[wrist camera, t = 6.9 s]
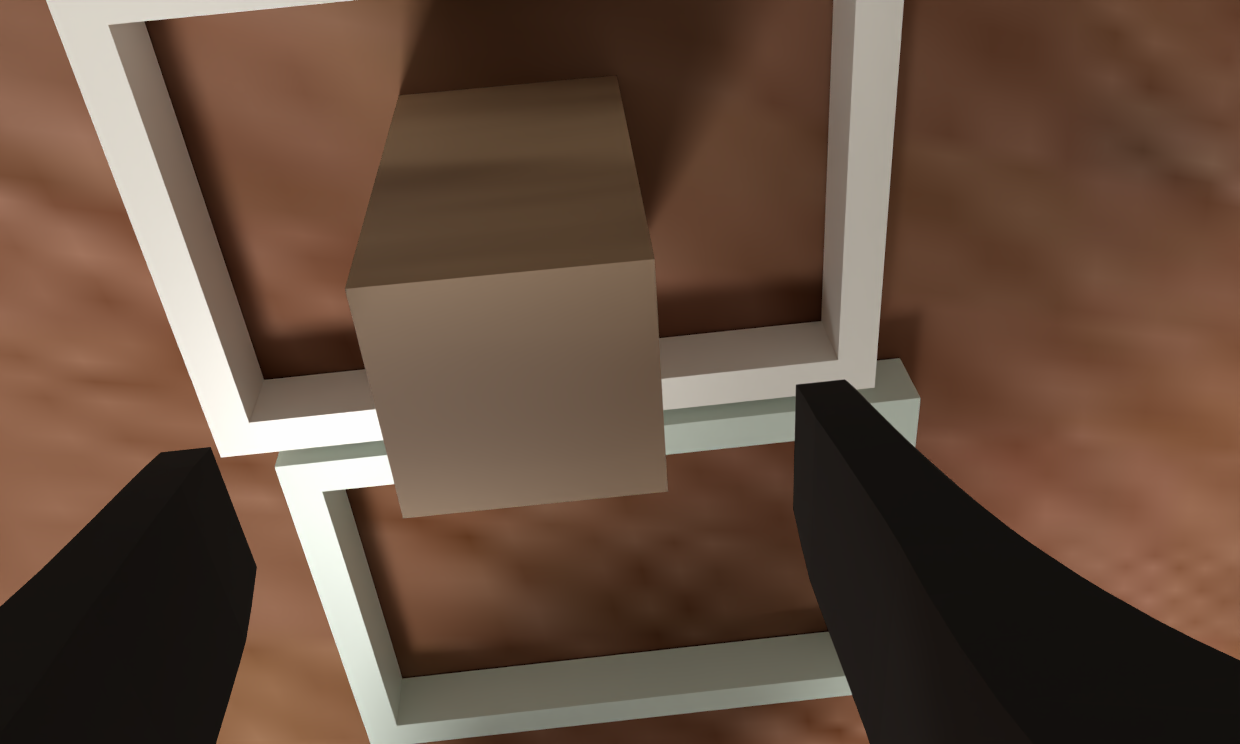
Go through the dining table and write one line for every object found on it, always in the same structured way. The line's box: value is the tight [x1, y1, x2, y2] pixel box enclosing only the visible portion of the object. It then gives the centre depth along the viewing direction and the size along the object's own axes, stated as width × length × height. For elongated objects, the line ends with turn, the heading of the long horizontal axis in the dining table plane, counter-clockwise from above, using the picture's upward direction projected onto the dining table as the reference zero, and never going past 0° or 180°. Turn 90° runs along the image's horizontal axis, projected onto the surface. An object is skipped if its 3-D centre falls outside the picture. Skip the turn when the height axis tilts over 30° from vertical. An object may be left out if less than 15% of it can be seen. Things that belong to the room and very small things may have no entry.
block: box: [345, 75, 668, 518], centre depth 18 cm, size 4×4×7 cm
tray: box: [46, 0, 904, 457], centre depth 20 cm, size 10×14×2 cm
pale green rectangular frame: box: [275, 358, 920, 744], centre depth 25 cm, size 10×14×2 cm
